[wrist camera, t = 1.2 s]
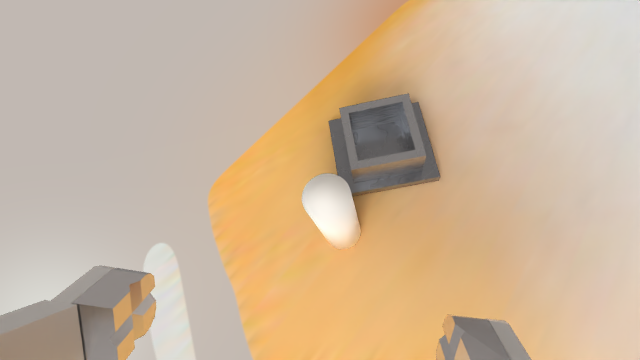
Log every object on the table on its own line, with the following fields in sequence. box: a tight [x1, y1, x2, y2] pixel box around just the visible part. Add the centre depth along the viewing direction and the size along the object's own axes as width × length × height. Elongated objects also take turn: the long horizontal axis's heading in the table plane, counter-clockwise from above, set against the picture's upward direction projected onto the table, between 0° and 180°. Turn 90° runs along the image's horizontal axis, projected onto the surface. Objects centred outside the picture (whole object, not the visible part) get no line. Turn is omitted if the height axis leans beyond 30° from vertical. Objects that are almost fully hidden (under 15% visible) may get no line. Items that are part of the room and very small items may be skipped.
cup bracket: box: [329, 93, 440, 196], centre depth 36 cm, size 10×9×4 cm
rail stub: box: [302, 173, 361, 249], centre depth 30 cm, size 4×4×11 cm
